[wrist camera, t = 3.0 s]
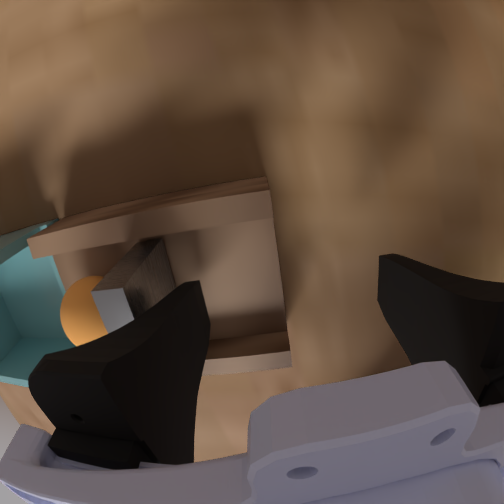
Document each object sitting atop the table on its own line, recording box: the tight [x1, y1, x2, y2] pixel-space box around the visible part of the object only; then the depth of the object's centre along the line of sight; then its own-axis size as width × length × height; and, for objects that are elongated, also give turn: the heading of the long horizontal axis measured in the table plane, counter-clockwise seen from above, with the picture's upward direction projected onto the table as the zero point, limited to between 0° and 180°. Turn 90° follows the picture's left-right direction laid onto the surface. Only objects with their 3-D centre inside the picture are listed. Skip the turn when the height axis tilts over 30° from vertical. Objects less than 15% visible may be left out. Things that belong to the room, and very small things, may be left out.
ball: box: [60, 276, 108, 346], centre depth 12 cm, size 4×4×4 cm
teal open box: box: [0, 218, 76, 387], centre depth 14 cm, size 8×8×5 cm
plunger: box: [91, 238, 176, 333], centre depth 11 cm, size 1×5×4 cm, turn 9°
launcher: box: [27, 177, 292, 376], centre depth 14 cm, size 11×8×4 cm
